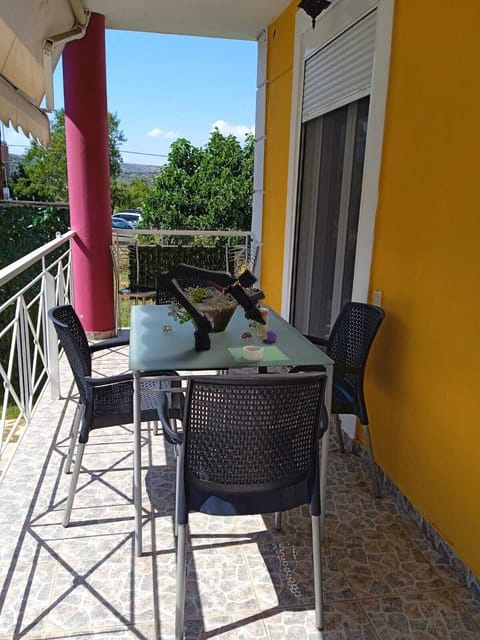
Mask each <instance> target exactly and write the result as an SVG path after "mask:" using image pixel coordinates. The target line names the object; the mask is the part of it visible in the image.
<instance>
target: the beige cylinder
mask: <svg viewBox="0 0 480 640" xmlns="http://www.w3.org/2000/svg"><path fill="white" fill-rule="evenodd" d="M260 314H261V316H262V317H263V319H264V320H265V322H266V325H263V324H261V323H258V322H256V339H258V340H265V339H267V330H268V323H269V308H263V307H260Z"/></svg>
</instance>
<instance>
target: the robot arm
mask: <svg viewBox="0 0 480 640" xmlns="http://www.w3.org/2000/svg"><path fill="white" fill-rule="evenodd" d="M181 275H186V276H190V277H194V278H198V279H202V280H207V281H209V282H211V283H212V284H215V285H217V286H220V287H222V288H223V296H224V297H225V296H226V295H230V297H231V298H232V299H233V300H234V301H235V302H236V304H237V305H238V306H240V307H241V308H242V309H243V312H244V318H245V319H246V320H247V321H249V320H251V321H253V322H256V323H257V322H258V323H261V324H263V325H266V322H265V320H264V319H263V317H262V316H261V314H260V308H261V304H260V301H261V300H265V299H266V297H267V296H266V294H265V292H264V289H260V288H255V289H254V290H255V291H254V292H253V293H250V292H248V291H246V290H245V289H248V290H249V289H251V287H252V286H254V285H255V284H256V283H257V282H258V281H259V278H258V277H257V275H255V273H254V272H252V271H251V270H250V269H249V268H246V269H244V271H242V273H240V275H234V274H231V272H229V271H222V270H210V269H205V268H201V267H197V266H194V265H189V264H185V263H179V264H178V265H176V266H175V267H174V268H172V269H171V270H169V271H162V272H161V273H159V274H158V275H157V277H156V284H157V285H158V286H159V287H160V288H162V290H165V291H166V292H167V293H169V294H171V296H173V298H174V299H175V300H176V301H177V302H178V303H179V304H180V305H181V306H182V308H183V309H184V310H185V311H186V313H188V314H189V316H191V318H192V319H193V322H194V323H195V326H196V328H195V330H194V332H193V346H192V348H193V349H194V350H193V351H194V352H201V351H202V352H204V351H211V344H212V343H211V337H210V333H212V331H213V329H214V326H215V324H214V320H213V319H214V318H213V317H211V316H210V314H209V312H207V311H206V312H205V313H204V312H202V311H201V310H200V309H199V308H198V307H197V306H196V305H195V304H194V303H193V301H192V300H191V299H190V298H189V297H188V296H187V295H186V293H185V292H184V291H183V290H182V289H181V287H180V286H179V285H178V282H177V280H176V278H177V277H178V276H181ZM233 284H234V285H233Z"/></svg>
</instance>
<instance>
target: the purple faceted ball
mask: <svg viewBox="0 0 480 640" xmlns="http://www.w3.org/2000/svg"><path fill="white" fill-rule="evenodd" d="M277 338H278V334H277V332H276V331H275V330H273V329H267V339H264V340H265V341H266V342H268V343H273V342H275V341H276V340H277Z"/></svg>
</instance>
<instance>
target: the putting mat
mask: <svg viewBox="0 0 480 640" xmlns="http://www.w3.org/2000/svg"><path fill="white" fill-rule="evenodd" d="M261 347H262V348H263V349H264V353H263V358H262V359H260V360H247V359H244V358H243V357H242V350H243V347H227V351H229V353H230V355H231V356H232V357H233V358H234V360H235V361H236V363H252V362H253V363H254V362H269V361H270V362H271V361H272V362H273V361H275V362H276V361H289V360H290V361H291V359H290V358H289V357H287V355H286V354H284V353H283V352H282V351H281V350H280V349H279V348H278V347H277V346H275V345H271V346H270V345H269V346H261Z"/></svg>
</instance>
